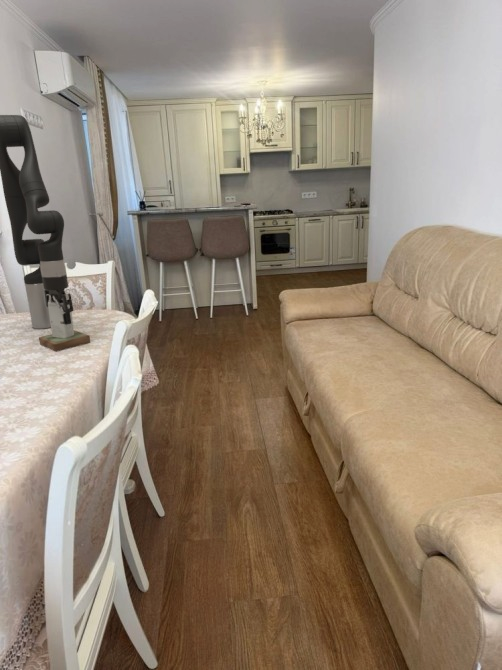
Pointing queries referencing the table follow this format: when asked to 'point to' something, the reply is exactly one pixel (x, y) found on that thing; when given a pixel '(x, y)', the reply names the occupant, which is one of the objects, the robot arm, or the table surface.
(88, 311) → the table surface
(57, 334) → the skincare box
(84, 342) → the block
